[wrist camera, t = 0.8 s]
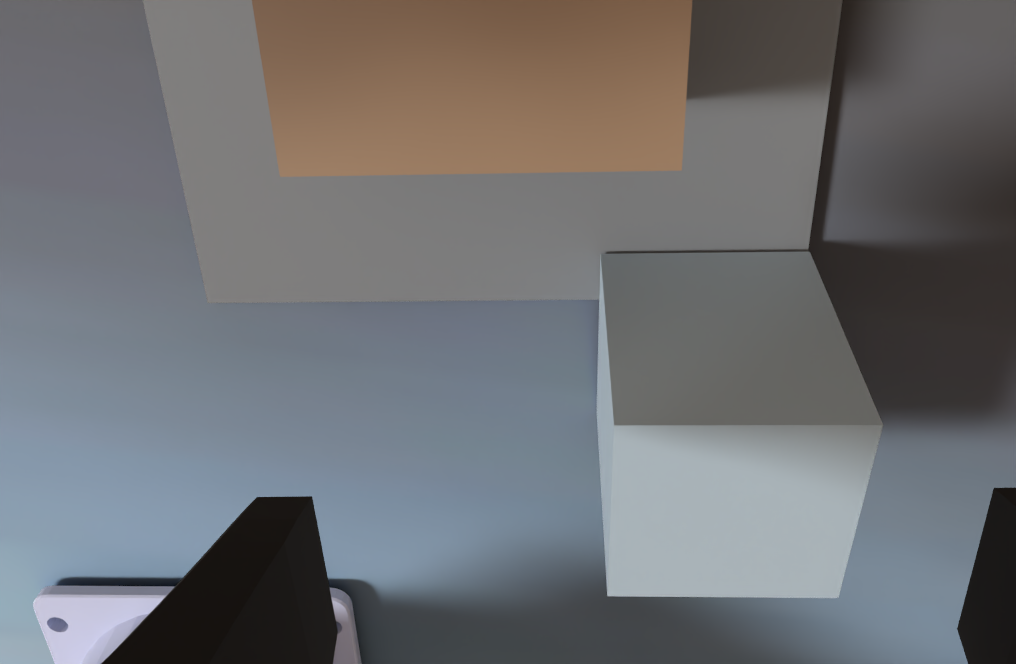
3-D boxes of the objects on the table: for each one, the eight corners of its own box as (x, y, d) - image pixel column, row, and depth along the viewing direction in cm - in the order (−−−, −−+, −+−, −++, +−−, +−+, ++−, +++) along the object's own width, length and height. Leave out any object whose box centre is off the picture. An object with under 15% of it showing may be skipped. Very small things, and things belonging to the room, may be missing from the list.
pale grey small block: (782, 410, 21) (837, 598, 17) (596, 410, 21) (607, 596, 17) (809, 251, 18) (882, 425, 14) (600, 253, 18) (614, 425, 14)
